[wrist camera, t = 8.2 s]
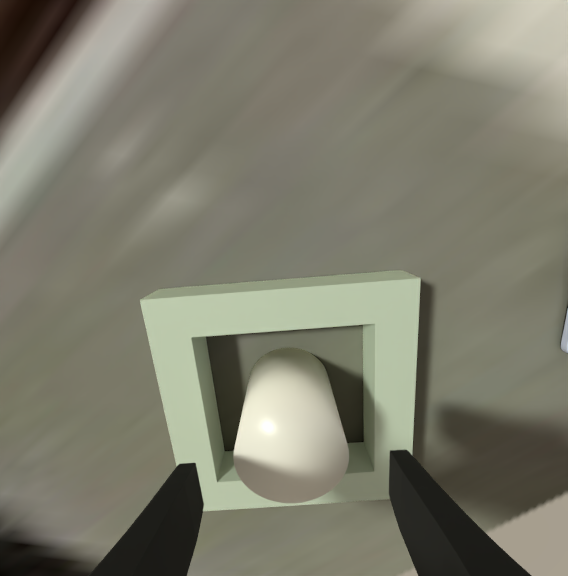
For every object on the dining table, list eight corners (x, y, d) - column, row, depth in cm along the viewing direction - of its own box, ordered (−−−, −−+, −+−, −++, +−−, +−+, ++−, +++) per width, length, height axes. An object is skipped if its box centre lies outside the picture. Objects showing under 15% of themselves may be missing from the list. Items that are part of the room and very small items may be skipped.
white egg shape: (327, 345, 15) (348, 405, 10) (329, 415, 16) (349, 500, 11) (245, 350, 15) (226, 413, 10) (252, 419, 16) (239, 506, 11)
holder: (401, 270, 14) (420, 278, 12) (395, 466, 17) (410, 497, 15) (159, 288, 14) (139, 299, 12) (197, 478, 17) (186, 512, 15)
